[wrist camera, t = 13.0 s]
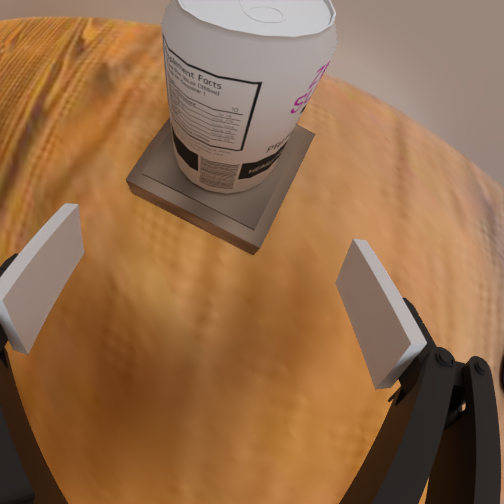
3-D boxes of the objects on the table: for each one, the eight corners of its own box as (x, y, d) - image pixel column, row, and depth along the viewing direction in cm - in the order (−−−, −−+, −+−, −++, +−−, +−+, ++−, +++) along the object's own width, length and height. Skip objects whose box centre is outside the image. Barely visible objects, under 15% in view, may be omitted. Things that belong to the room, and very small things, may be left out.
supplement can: (170, 118, 24) (160, -35, 9) (263, 108, 25) (313, -32, 11) (181, 204, 22) (161, 53, 8) (285, 189, 24) (378, 56, 10)
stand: (132, 193, 25) (124, 178, 22) (199, 99, 28) (200, 78, 25) (253, 255, 26) (260, 247, 23) (304, 149, 29) (316, 132, 26)
